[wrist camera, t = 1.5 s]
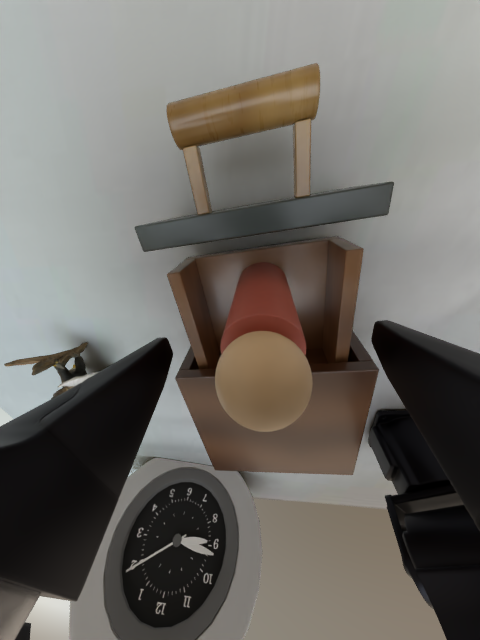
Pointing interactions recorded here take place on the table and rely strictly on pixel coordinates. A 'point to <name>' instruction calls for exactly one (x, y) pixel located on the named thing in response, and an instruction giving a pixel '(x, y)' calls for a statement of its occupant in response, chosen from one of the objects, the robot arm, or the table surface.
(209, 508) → the alarm clock
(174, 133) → the drawer
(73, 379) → the eagle figurine
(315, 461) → the cabinet
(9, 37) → the table surface
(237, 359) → the peg doll
